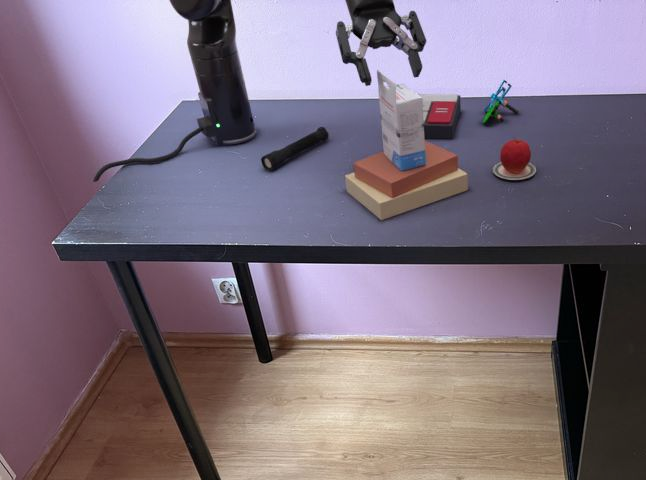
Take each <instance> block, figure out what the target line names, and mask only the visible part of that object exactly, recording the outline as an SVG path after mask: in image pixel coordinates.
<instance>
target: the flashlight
mask: <svg viewBox="0 0 646 480" xmlns="http://www.w3.org/2000/svg"><path fill="white" fill-rule="evenodd" d="M328 140H329V132H328V130H327V129H326V128H325V126H320V127H317V129H316V130H315V131H313V132H311V133H309V134H307V135H305V136H303V137H301V138H300V139H298V140H296V141H294V142H292V143H290V144H288V145H286V146H284V147H282V148H280V149H278V150H277V149H276V150H273V151H270V152H269V153H267V154H265V155H263V156H261V158H260V162H261V165H262V167H263V169H265V170H266V171H268V172H271V171H273V170H275V169H277V168H278V167H279V166H281V165H283V164H284V163H285V162H286V161H287V160H290V159H291V158H293V157H295V156H297V155H299V154H301V153H303V152H304V151H307V150H308V149H310V148H312V147H314V146H315V145H318V144H320V143H321V142H326V141H328Z"/></svg>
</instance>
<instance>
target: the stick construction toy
mask: <svg viewBox="0 0 646 480" xmlns="http://www.w3.org/2000/svg"><path fill="white" fill-rule="evenodd" d="M504 84H507V86H508V87H507V89H506V88H505V87H504V86H503V85H504ZM512 86H513V85H512V84H510V83H508V81H507V80H506V79H502V82H501V83H500V85H499V87H498V88H497V90H496V92H495V93H494V92H492V93H491V95H490V97H491V99H490V101H489V102H488V104H487V105H486V107H485V108H484V109H483V112H484V114H486V115H485V117H484V118H483V121H482V123H483V124H487V123H488V122H489V121H490V120H492V117H493V118H495V119H497V120H498V121H501V122H504V120H505V119H504V118H503V117H502V115H501V114H499V113H498V112H497V111H498V110H499V108H500V106H501V107H503V108H505V107H506V108H507V109H508V110H510V111H511V112H512V113H513V114H515V115H518V114H519V112H520V111H519V110H518V109H516V108H515V107H514V106H512V105H511V104H510V103H508V101H507V100H506V99H504V98H505V97H506V95H507V94H508V92H509V91H510V90H511V88H512ZM499 95H500V97H499ZM495 101H496V102H495ZM487 110H488V111H487Z"/></svg>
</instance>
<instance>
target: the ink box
mask: <svg viewBox="0 0 646 480" xmlns="http://www.w3.org/2000/svg"><path fill="white" fill-rule="evenodd" d="M376 77H377V88H378V89H377V90H378V91H377V92H378V102H379V103H378V104H379V113H380V124H381V134H382V135H381V136H382V145H383V151H384V154H385V155H386V156H387V157H388V158H389V159H390V160H391V161H392V162H393V163H394V164H395V165H396V166H397V167H398V168H399V169H400V170H401V171H404V170H408V169H412V168H416V167H420V166H424V165H426V156H425V141H426V140H425V139H426V138H424V120H423V98H422V97H420V96H419V95H418V94H419V93H416V92H415V91H414V90H412V88H410V87H408V86H407V85H406V84H405V83H403V82H402V83H398V84H396V82H394V81H393V80H391V78H389V77H388V76H387V75H385V74H384V73H382V72H381V71H380V70H379V69H377V70H376ZM384 83H386V85H387V86H385V84H384Z"/></svg>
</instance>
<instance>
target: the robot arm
mask: <svg viewBox="0 0 646 480" xmlns="http://www.w3.org/2000/svg"><path fill="white" fill-rule="evenodd" d="M344 1H345V4H346V7H347V10H348V13H349V17H350V20H351V23H346V24H345V23H344V21H341V20H340V21H338V22H336V27H335V36H336V37H335V38H336V41H337V46H338V48H339V53H340V56H341V57H340V58H341V61H342V63H343V64H345V65H349V64H353V65H354V66H355V69H356V71H357V74H358V78H359V80H360V82H361V83H362V84H364V86H365V87H369V86H371V85H372V81H373V80H372V76H371V71H370V68H369V65H368V62H367V58H365V56H366V53H367V51H368V49H369V48H370V49H372V50H377V49H380V48H389V47H391V46H393V47H395V48H396V49H397V50H399V51H402V52H403V53H404V54H406V55H407V56H408V57H407V61H408V63H409V66H410V70H411V72H412V77H413V78H415V79H416V78H419V77H420V75H421V72H422V70H423V63H422V60H421V57H420V54H419V53H421V52H423V51H424V49H425V45H426V44H427V38H426V35H425V32H424V30H423V28H422V25H421V22H420V19H419V17H418V14H417V12H416V11H415V10H410V11H409V12H408V14H405V15H400V14H399V13H398V12H397V10H396V6H395V3H394V0H344ZM169 3H170V4H171V6H172V8H173V10H174V11H175V12H176V13H177V14H178V15H179V16H180V17H181V18H183V19H185V20H187V23H188V33H187V38H186V39H187V40H186V46H187V49H188V53H189V56H190V59H191V63H192V64H191V65H192V67H193V68H192V69H193V70H194V75H195V78H196V82H197V86H198V90H199V92H197V96H198V99H199V104H200V107H201V110H202V114H203V117H198V118H196V121H197V125H198V128H196V129H195V130H193V131H191V132H190V133H188V134H187V135H186V136H185V137H184V138H183V139H182V140H181V142H180V143H179V145H178V147H177V148H176V149H174V150H173V151H172V152H170V153H168V154H165V155H161V156H157V157H151V158H143V157H134V158H133V157H132V158H127V159H123V160H118V161H113V162H109V163H107V164H105V165H103V166H102V167H101V168H99V170H97V172H96V173H95V175H94V177H93V180H92V182H94V183H96V182H99V180H100V179H101V177H102V175H103V174H104V173H105V172H106V171H107V170H110V169H111V168H112V169H113V168H115V167H120V166H126V165H129V164H130V165H131V164H134V163H135V164H137V163H143V164H154V163H159V162H163V161H167V160H170V159H173V158H174V157H176V156H177V155H179V154H180V153H181V152H182V151H183V149H184V147H185V145H186V144H187V143H188V141H190V140H191V139H192V138H194V137H195V136H197V135H198V134H200V133H202V134H203V136H205V137H206V139H209V138H210V139H211V140H212V141H213V142H214V143H215V144H216V145H217V146H219V147H220V146H221V147H222V146H228V145H229V146H230V145H238V144H242V143H246V142H248V141H251V140H252V139H254V138H255V137H256V135H257V127H255V121H254V119H255V118H254V116H253V115H254V114H253V112H252V108H251V103H250V99H249V95H248V90H247V86H246V80H245V77H244V73H243V67H242V64H241V60H240V54H239V50H238V46H237V27H236V21H235V16H234V10H233V5H232V0H169ZM401 26H404V28H405V30H406V31H409V33H410V36H411V38H410V36H409V35H408V33H407V32H406V31H405V30H403V29H402V28H401ZM351 33H352V34H353V35H354V36H355V37H357V38H358V40H360V41H359V44H358V47H357V49H356V51H352V50H351V45H350V41H349V39H350V37H351Z"/></svg>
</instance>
